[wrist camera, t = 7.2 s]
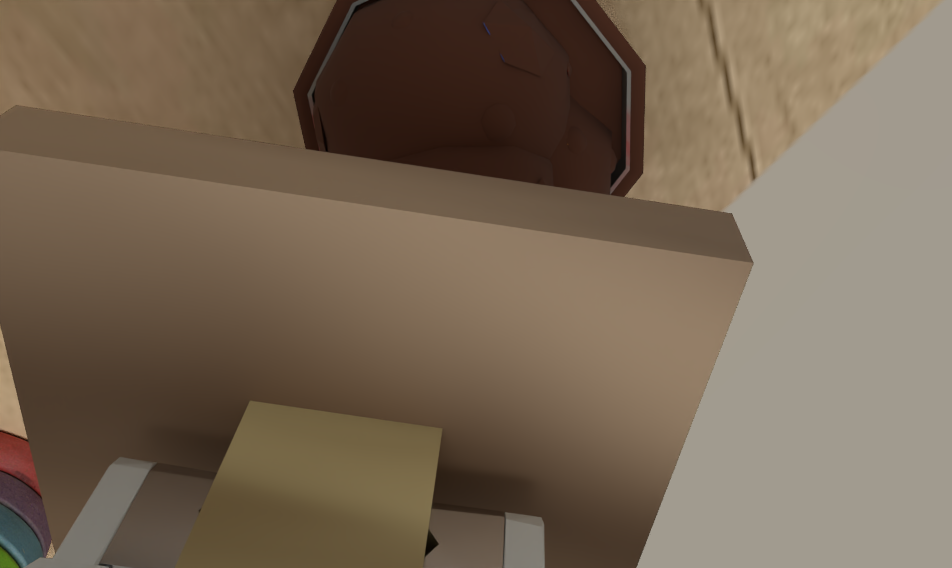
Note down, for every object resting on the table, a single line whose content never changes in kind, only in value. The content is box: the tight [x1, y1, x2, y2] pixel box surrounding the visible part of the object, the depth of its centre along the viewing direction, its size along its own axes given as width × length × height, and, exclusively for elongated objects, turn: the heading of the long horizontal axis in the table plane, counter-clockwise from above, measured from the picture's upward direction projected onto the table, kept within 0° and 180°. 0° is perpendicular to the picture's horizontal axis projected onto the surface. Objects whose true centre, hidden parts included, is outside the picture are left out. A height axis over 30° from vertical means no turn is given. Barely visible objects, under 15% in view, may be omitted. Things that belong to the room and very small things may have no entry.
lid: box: [0, 105, 753, 568], centre depth 11 cm, size 9×9×4 cm
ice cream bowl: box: [293, 0, 646, 197], centre depth 26 cm, size 11×11×15 cm
